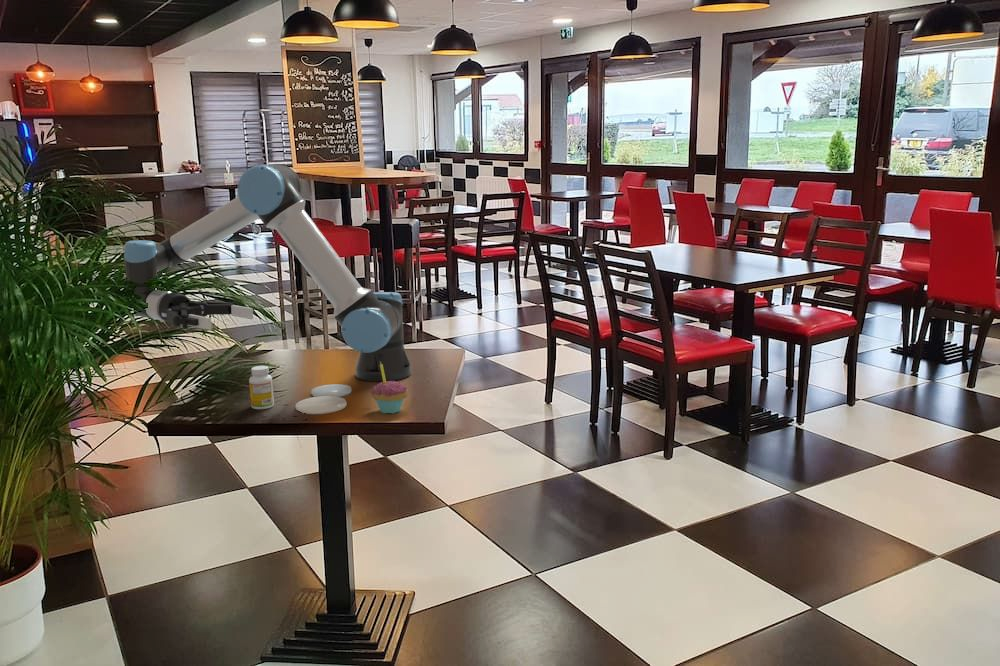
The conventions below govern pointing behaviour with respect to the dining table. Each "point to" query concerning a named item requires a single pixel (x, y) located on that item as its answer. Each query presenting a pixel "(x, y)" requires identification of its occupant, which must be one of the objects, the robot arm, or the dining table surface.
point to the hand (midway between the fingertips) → (231, 318)
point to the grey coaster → (331, 390)
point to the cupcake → (389, 394)
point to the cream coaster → (321, 405)
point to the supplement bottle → (261, 388)
